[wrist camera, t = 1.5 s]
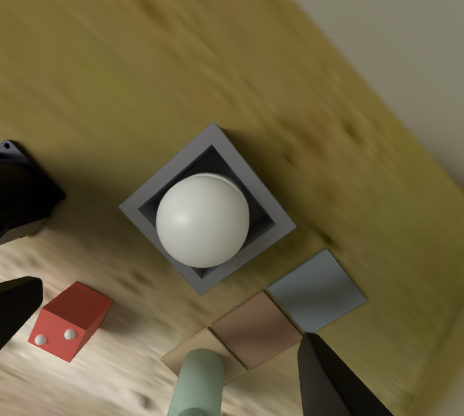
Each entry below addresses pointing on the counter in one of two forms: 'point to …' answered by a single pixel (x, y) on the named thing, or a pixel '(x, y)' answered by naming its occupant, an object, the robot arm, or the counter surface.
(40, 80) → the counter surface
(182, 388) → the pawn
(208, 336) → the game track
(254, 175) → the grey square tray
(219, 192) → the dome
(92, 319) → the red die
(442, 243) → the counter surface
